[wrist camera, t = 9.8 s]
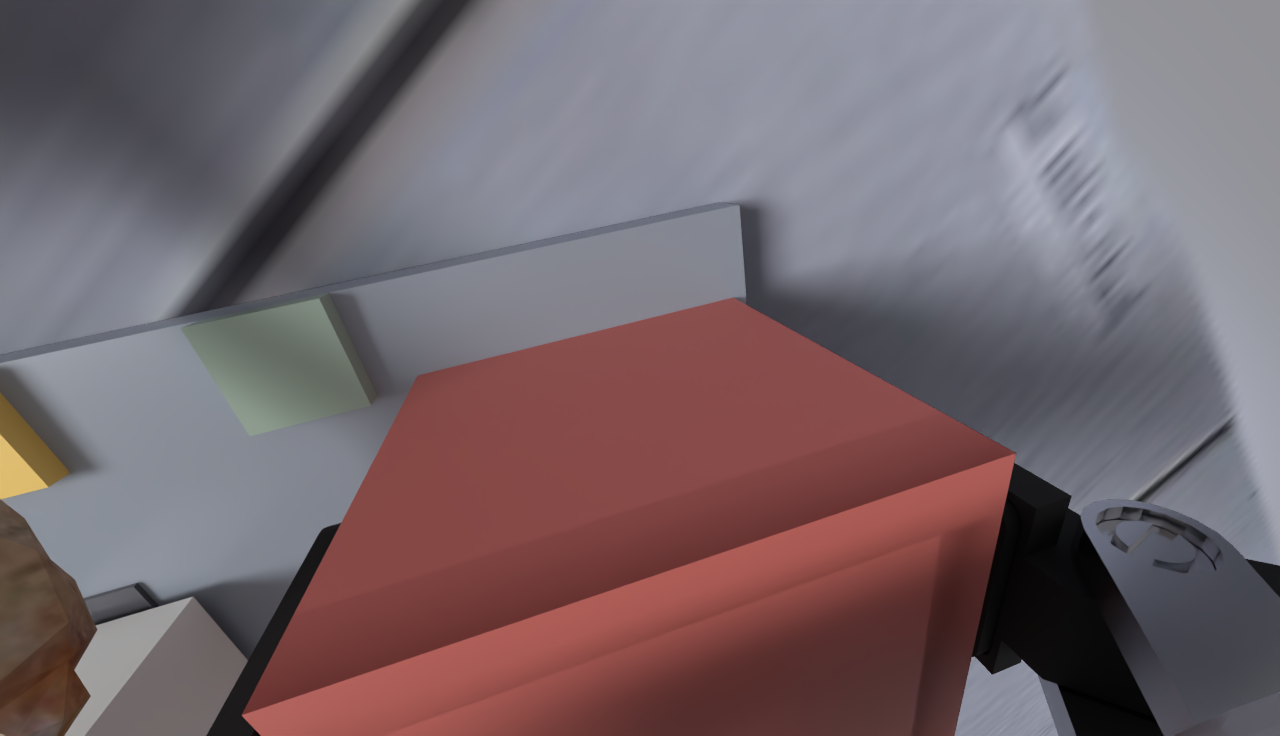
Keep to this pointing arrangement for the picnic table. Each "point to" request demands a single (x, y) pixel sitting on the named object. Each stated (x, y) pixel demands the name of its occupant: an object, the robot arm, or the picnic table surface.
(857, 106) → the picnic table surface
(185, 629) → the breaker toggle
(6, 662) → the pine cone
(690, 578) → the cap
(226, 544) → the breaker panel
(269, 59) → the picnic table surface
